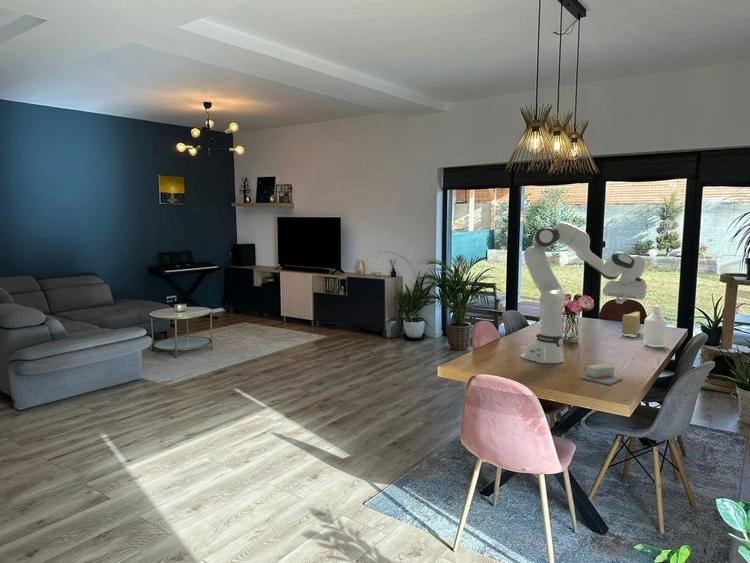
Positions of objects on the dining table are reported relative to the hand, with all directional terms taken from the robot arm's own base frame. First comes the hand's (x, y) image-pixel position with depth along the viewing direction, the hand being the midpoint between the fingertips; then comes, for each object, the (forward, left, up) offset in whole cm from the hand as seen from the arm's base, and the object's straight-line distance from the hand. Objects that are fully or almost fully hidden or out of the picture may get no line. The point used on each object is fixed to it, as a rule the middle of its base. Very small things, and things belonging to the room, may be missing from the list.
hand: (618, 302), depth 271 cm
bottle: (-9, +77, -35) cm, 85 cm away
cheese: (-32, +103, -35) cm, 113 cm away
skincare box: (+3, -13, -31) cm, 34 cm away
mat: (+4, -23, -34) cm, 42 cm away
